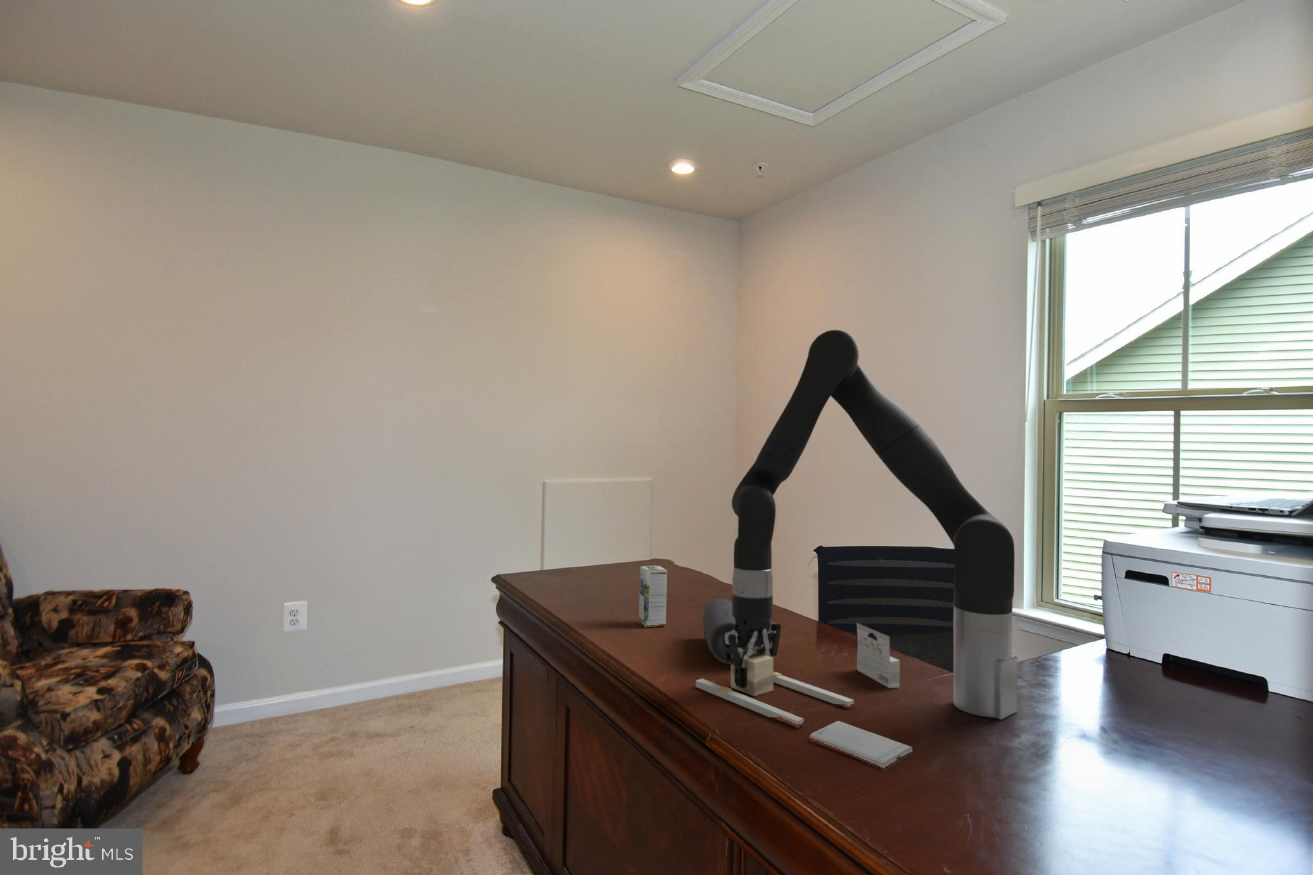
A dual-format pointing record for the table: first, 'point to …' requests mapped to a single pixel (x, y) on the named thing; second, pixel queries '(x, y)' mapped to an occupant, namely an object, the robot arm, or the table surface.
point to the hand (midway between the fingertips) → (751, 683)
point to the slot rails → (768, 709)
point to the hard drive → (861, 743)
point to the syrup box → (652, 595)
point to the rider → (756, 674)
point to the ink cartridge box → (877, 657)
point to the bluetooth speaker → (718, 625)
